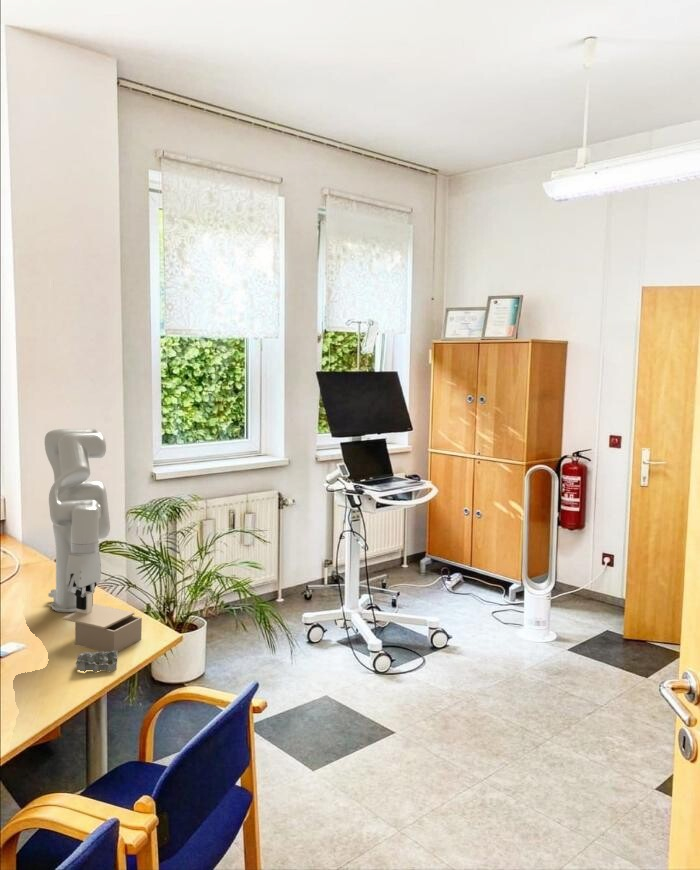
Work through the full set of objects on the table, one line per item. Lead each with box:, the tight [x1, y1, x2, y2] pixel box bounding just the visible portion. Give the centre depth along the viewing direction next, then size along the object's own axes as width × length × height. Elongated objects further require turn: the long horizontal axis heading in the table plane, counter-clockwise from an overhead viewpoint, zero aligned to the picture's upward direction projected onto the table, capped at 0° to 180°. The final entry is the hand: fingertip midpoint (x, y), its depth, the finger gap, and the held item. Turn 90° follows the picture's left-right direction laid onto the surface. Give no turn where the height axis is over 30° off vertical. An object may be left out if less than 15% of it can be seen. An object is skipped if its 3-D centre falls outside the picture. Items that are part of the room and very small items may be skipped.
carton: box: [74, 615, 143, 652], centre depth 208 cm, size 14×12×7 cm
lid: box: [62, 591, 135, 629], centre depth 209 cm, size 15×13×7 cm
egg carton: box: [75, 649, 119, 673], centre depth 192 cm, size 11×8×4 cm
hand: (84, 607), depth 211 cm, fingers closed on lid, 2 cm apart
